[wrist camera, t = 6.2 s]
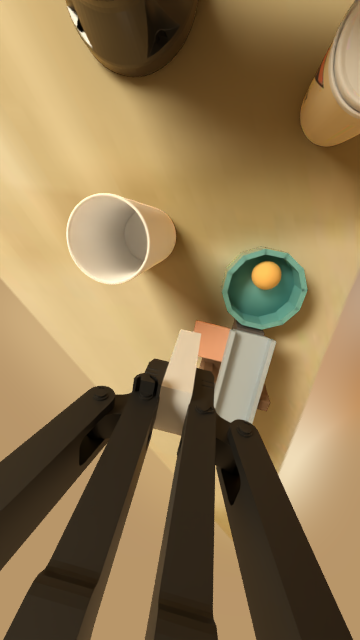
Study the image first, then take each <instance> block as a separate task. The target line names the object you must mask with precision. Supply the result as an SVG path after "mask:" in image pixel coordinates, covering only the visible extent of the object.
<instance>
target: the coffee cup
mask: <svg viewBox="0 0 360 640" xmlns="http://www.w3.org/2000/svg"><path fill="white" fill-rule="evenodd" d="M300 122H301V127H302V130H303V132H304V134H305V136H306V137H307V138H308V139H309V140H310V141H311V142H312V143H314V144H316V145H319V146H326V147H328V146H334V145H338V144H340V143H343V142H345V141H347V140H349V139H351V138H353V137H355V136H357V135H359V134H360V0H356V1H355V2H354V3H353V4H352V6H351V7H350V9H349V10H348V12H347V13H346V15H345V16H344V18H343V20H342V22H341V24H340V26H339V28H338V30H337V32H336V35H335V38H334V40H333V42H332V44H331V46H330V48H329V49H328V51H327V53H326V55H325V57H324V59H323V61H322V63H321V65H320V67H319V69H318V71H317V73H316V75H315V77H314V79H313V81H312V83H311V85H310V86H309V88H308V91H307V93H306V95H305V97H304V100H303V102H302V106H301V111H300Z"/></svg>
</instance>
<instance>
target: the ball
mask: <svg viewBox="0 0 360 640" xmlns="http://www.w3.org/2000/svg"><path fill="white" fill-rule="evenodd" d="M280 280H281V269H280V267H279V266H278V265H277V264H276V263H274V262H271V261H263V262H261V263H259V264H257V265H256V266H255V267H254V269H253V271H252V281H253V283H254V285H255V286H256V287H258V288H260V289H263V290H268V289H272V288H274V287H275V286H277V284H278V283H279V282H280Z"/></svg>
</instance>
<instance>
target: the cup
mask: <svg viewBox="0 0 360 640" xmlns="http://www.w3.org/2000/svg"><path fill="white" fill-rule="evenodd" d="M66 237H67V244H68V248H69V251H70V254H71V256H72V258H73V260H74V262H75V263H76V265H77V266H78V267H79V268H80V269H81V271H83V272H84V273H85V274H86V275H87V276H89V277H90V278H92V279H94V280H96V281H98V282H101V283H105V284H120V283H124V282H127V281H129V280H131V279H133V278H135V277H136V276H138V275H140V274H141V273H143V272H145V271H146V270H148V269H150V268H151V267H153V266H155V265H156V264H158V263H160V262H161V261H163V260H164V259H166V258H167V257H168V256H169V255H170V254H171V252H172V251H173V249H174V246H175V243H176V230H175V227H174V224H173V222H172V220H171V219H170V217H169V216H168V215H167V214H166V213H165V212H163V211H162V210H160V209H158V208H155V207H152V206H149V205H146V204H143V203H140V202H136V201H133V200H130V199H127V198H124V197H121V196H118V195H114V194H108V193H100V194H95V195H91V196H89V197H87V198H85V199H83V200H82V201H81V202H80V203H79V204H78V205H77V206H76V207H75V208H74V210H73V211H72V213H71V215H70V217H69V220H68V224H67V231H66Z"/></svg>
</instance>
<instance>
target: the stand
mask: <svg viewBox="0 0 360 640" xmlns="http://www.w3.org/2000/svg"><path fill="white" fill-rule="evenodd" d="M233 329H236V330H240V331H244V332H248V333H253V334H257V335H261V336H264V332H263V330H261V329H257V328H253V327H249V326H245V325H242V324H240V323H239V322H238V321H237V320H236V319H235V321H234V324H233V327H232V330H233ZM220 366H221V362H220V361H216V360H212V359H208V358H204V357H202V360H201V364H200V368H199V369H203V370H207V371H211V372H212V374H213V375H214V377H215V381H214V383H216V381H217V377H218V373H219V370H220ZM269 404H270V400H269V397H268V394H267V390H266V387H265V384H264V386H263V389H262V392H261V396H260V399H259V403H258V406H257V409H260V410H264V411H267V409H268V407H269Z"/></svg>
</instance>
